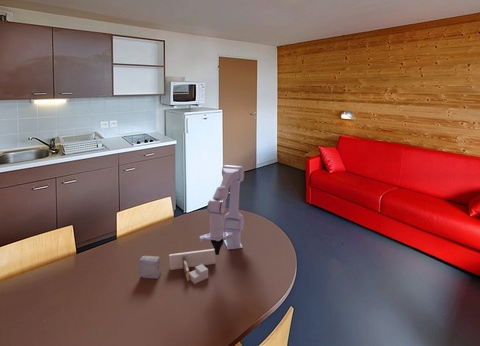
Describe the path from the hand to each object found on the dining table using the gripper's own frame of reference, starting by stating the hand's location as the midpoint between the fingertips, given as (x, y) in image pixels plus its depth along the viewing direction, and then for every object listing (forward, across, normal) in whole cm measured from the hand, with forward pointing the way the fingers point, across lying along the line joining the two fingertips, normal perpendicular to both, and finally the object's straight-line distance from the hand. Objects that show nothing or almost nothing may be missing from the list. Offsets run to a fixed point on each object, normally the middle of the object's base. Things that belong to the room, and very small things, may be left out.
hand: (216, 253), depth 136 cm
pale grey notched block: (+10, -9, -2) cm, 13 cm away
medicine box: (+10, -29, +4) cm, 31 cm away
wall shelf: (+9, -10, +8) cm, 16 cm away
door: (+9, -14, +1) cm, 17 cm away
